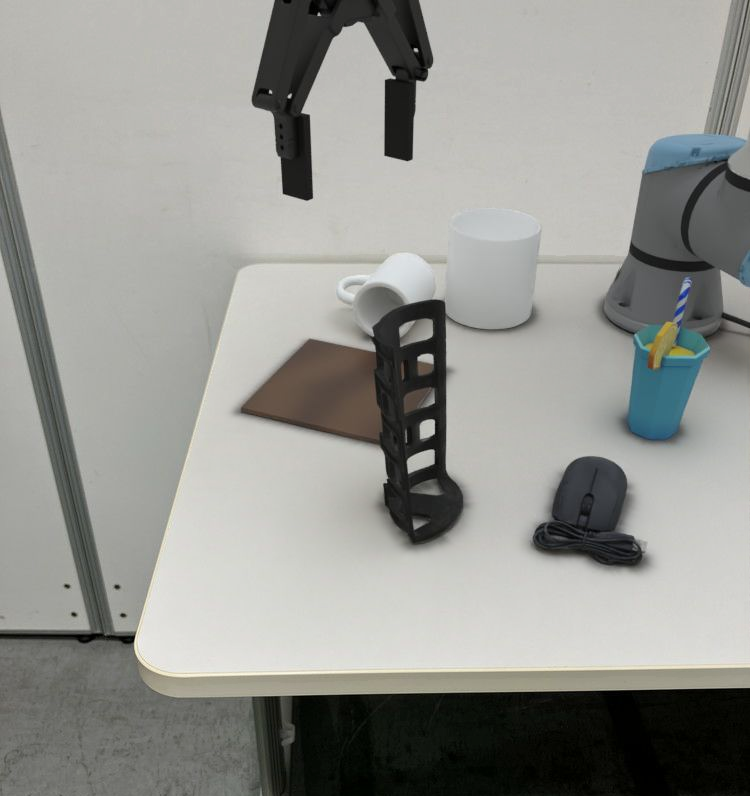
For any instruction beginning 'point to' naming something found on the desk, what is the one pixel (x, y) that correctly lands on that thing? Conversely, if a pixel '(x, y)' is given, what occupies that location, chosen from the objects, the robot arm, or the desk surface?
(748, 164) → the robot arm
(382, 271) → the mug
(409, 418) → the holder
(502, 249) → the cup
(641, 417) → the cup
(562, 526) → the computer mouse
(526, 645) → the desk surface
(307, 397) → the board
